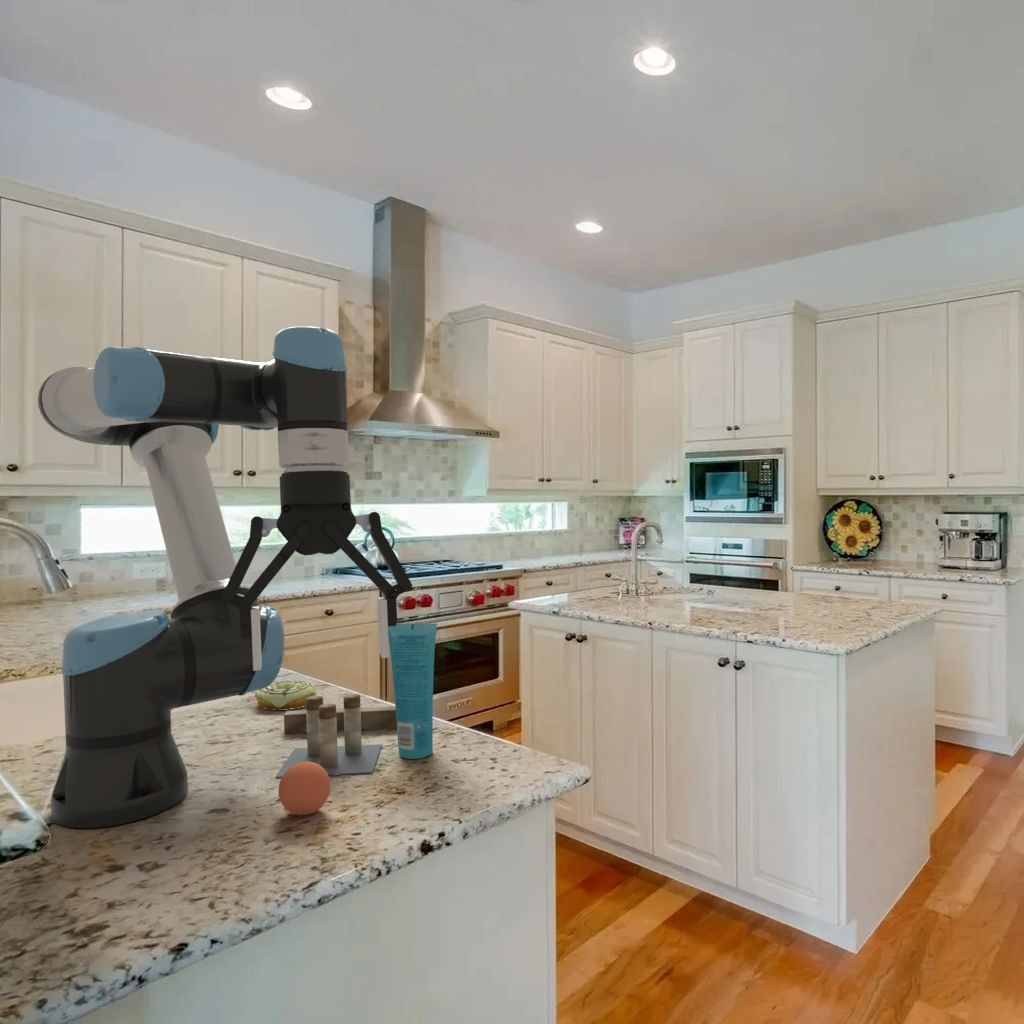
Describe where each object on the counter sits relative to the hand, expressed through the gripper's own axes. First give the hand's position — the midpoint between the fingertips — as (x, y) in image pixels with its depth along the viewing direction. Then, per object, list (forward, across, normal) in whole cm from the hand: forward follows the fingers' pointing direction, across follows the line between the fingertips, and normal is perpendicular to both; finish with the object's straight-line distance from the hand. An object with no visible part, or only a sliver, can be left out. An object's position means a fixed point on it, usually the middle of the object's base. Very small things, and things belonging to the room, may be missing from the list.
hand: (322, 662), depth 80 cm
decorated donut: (+19, -5, +57) cm, 60 cm away
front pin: (+19, +1, +22) cm, 29 cm away
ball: (+16, -2, +7) cm, 18 cm away
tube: (+19, +13, +22) cm, 32 cm away
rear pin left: (+19, +5, +26) cm, 32 cm away
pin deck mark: (+19, +2, +24) cm, 30 cm away
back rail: (+19, +5, +38) cm, 43 cm away
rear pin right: (+19, -1, +27) cm, 33 cm away
